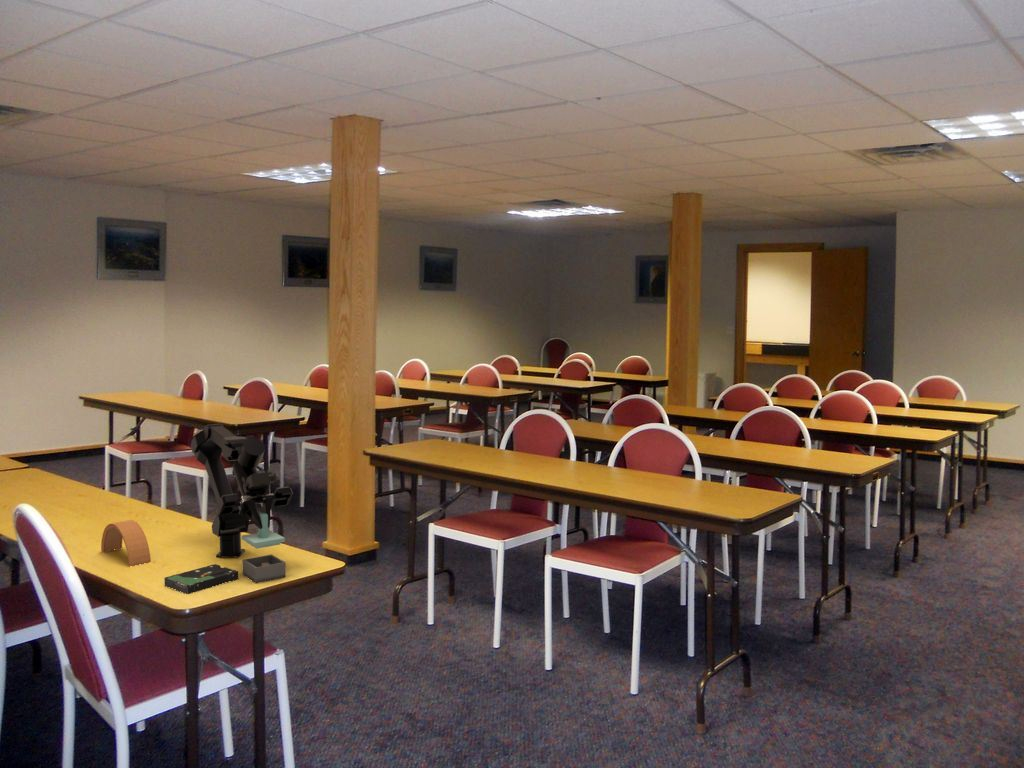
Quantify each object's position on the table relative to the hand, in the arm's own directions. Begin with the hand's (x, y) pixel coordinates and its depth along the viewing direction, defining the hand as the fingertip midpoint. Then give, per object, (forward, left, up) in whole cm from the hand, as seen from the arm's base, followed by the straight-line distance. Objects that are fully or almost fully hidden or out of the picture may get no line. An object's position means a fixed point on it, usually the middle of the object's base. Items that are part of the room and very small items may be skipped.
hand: (265, 527), depth 224 cm
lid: (-1, -1, -4) cm, 5 cm away
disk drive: (+3, -15, -14) cm, 21 cm away
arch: (-20, -43, -13) cm, 49 cm away
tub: (-1, -1, -13) cm, 13 cm away
